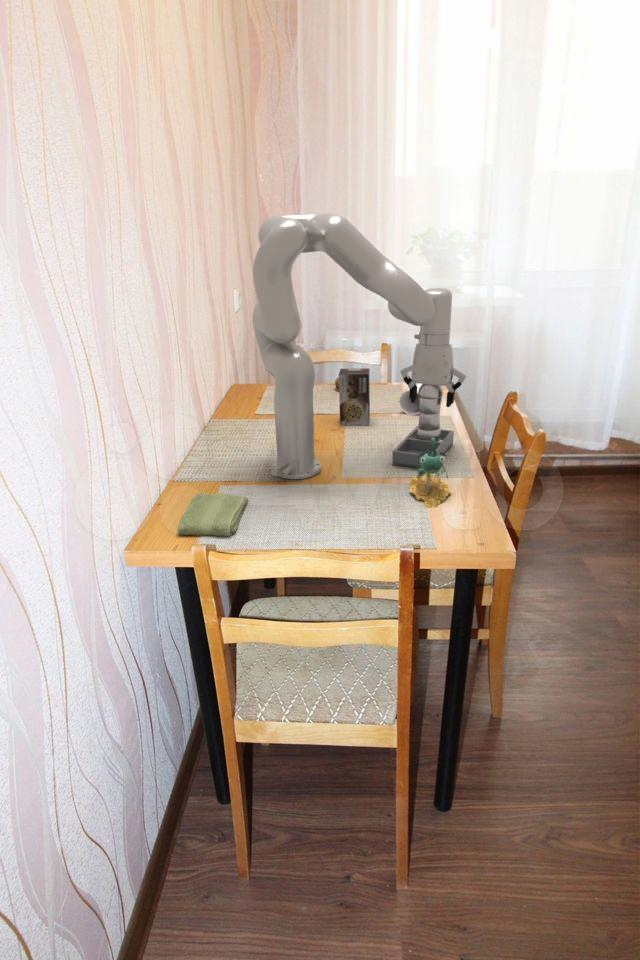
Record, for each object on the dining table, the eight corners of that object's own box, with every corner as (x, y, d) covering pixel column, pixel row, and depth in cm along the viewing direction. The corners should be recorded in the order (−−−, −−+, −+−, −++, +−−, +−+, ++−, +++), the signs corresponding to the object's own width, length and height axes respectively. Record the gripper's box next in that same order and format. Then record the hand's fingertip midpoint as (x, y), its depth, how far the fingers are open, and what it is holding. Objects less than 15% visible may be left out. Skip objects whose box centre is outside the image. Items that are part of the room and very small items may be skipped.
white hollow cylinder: (444, 401, 215) (445, 377, 212) (422, 417, 201) (423, 392, 197) (421, 397, 219) (422, 374, 216) (398, 413, 204) (399, 389, 201)
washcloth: (250, 501, 151) (249, 489, 149) (234, 539, 135) (233, 526, 133) (195, 501, 152) (193, 488, 150) (173, 538, 136) (171, 525, 134)
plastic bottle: (445, 446, 175) (449, 373, 167) (423, 450, 173) (427, 377, 164) (432, 438, 181) (436, 368, 172) (411, 442, 178) (414, 371, 170)
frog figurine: (448, 476, 160) (453, 422, 153) (452, 517, 145) (457, 459, 138) (409, 474, 162) (412, 421, 154) (409, 515, 146) (412, 458, 139)
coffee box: (370, 419, 200) (370, 368, 193) (369, 426, 194) (369, 373, 188) (340, 418, 201) (340, 367, 194) (339, 425, 195) (338, 373, 189)
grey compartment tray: (432, 472, 163) (432, 457, 161) (392, 465, 167) (392, 451, 165) (453, 444, 179) (453, 430, 178) (416, 439, 184) (416, 426, 182)
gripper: (397, 339, 165) (395, 404, 172) (464, 344, 158) (459, 411, 165) (406, 333, 171) (404, 396, 178) (471, 338, 164) (467, 403, 171)
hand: (431, 403), depth 172 cm, fingers open, 9 cm apart
